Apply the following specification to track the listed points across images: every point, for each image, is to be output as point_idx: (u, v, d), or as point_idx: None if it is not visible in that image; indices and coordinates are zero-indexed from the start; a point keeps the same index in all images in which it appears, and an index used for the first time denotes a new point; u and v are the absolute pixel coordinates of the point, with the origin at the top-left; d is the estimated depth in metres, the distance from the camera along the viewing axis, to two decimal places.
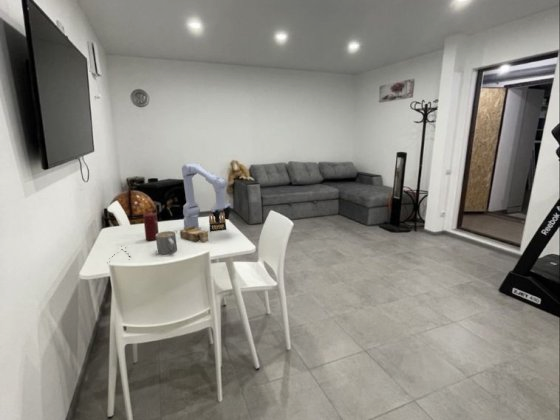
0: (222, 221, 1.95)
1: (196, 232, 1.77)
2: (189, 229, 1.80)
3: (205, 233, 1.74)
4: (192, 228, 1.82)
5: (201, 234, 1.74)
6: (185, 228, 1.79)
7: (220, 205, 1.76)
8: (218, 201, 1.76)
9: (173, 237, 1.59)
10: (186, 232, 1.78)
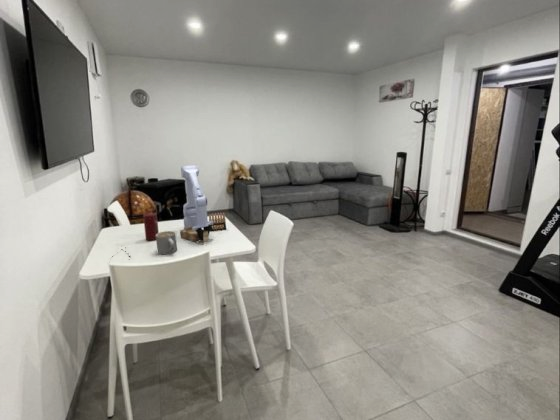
0: (222, 221, 1.95)
1: (196, 232, 1.77)
2: (189, 229, 1.80)
3: (205, 233, 1.74)
4: None
5: None
6: (185, 228, 1.79)
7: (201, 223, 1.71)
8: (199, 219, 1.71)
9: (173, 237, 1.59)
10: (186, 232, 1.78)
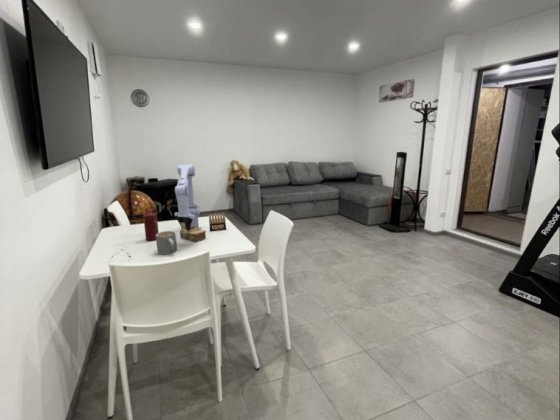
0: (222, 221, 1.95)
1: (196, 232, 1.77)
2: None
3: (182, 224, 1.68)
4: (192, 228, 1.82)
5: None
6: None
7: None
8: None
9: (173, 237, 1.59)
10: None
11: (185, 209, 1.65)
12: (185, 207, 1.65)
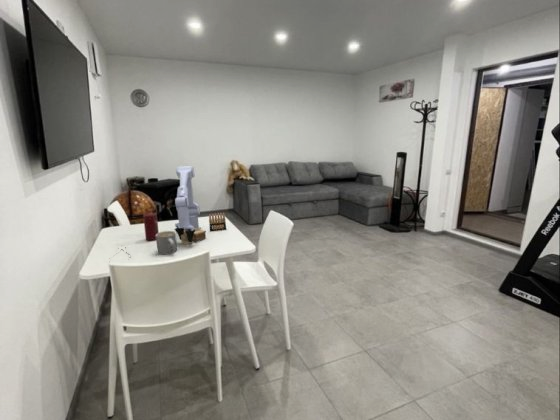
0: (222, 221, 1.95)
1: (196, 232, 1.77)
2: None
3: (182, 236, 1.69)
4: None
5: None
6: None
7: None
8: None
9: (173, 237, 1.59)
10: None
11: (185, 220, 1.66)
12: (185, 219, 1.66)
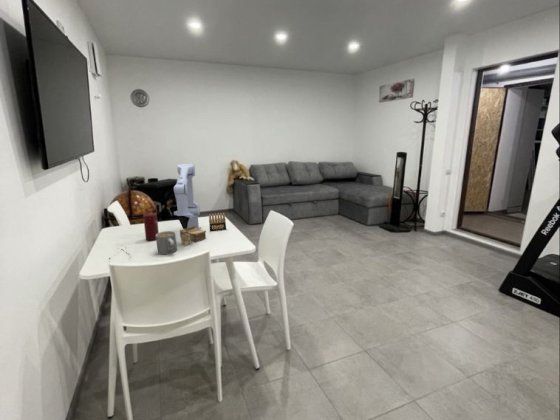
0: (222, 221, 1.95)
1: (196, 232, 1.77)
2: (189, 229, 1.80)
3: (182, 236, 1.69)
4: (192, 228, 1.82)
5: None
6: None
7: None
8: None
9: (173, 237, 1.59)
10: (186, 232, 1.78)
11: (184, 208, 1.66)
12: (184, 206, 1.66)
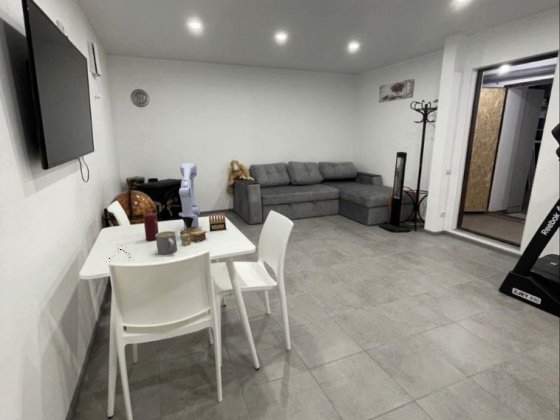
0: (222, 221, 1.95)
1: (197, 232, 1.76)
2: (190, 229, 1.80)
3: (182, 236, 1.69)
4: (193, 228, 1.82)
5: None
6: None
7: None
8: None
9: (173, 237, 1.59)
10: (187, 232, 1.78)
11: (188, 209, 1.77)
12: (188, 208, 1.77)
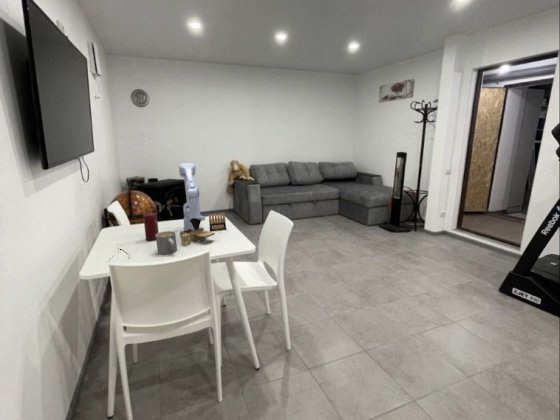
0: (222, 221, 1.95)
1: (205, 234, 1.73)
2: (198, 231, 1.76)
3: (182, 236, 1.69)
4: (201, 230, 1.78)
5: None
6: (194, 230, 1.75)
7: None
8: None
9: (173, 237, 1.59)
10: (195, 234, 1.74)
11: (196, 211, 1.73)
12: (196, 209, 1.73)
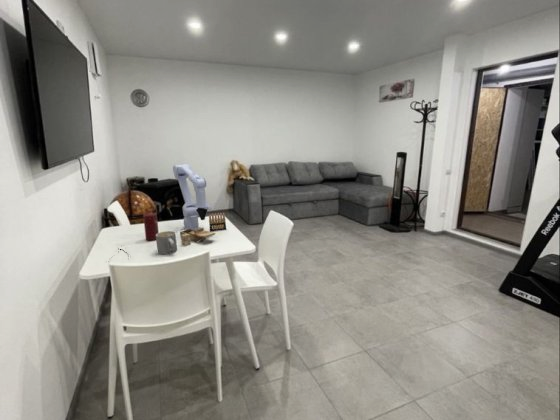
0: (222, 221, 1.95)
1: (205, 234, 1.73)
2: (198, 231, 1.76)
3: (182, 236, 1.69)
4: (201, 230, 1.78)
5: None
6: (194, 230, 1.75)
7: None
8: None
9: (173, 237, 1.59)
10: (195, 234, 1.74)
11: (202, 200, 1.80)
12: (202, 199, 1.80)
